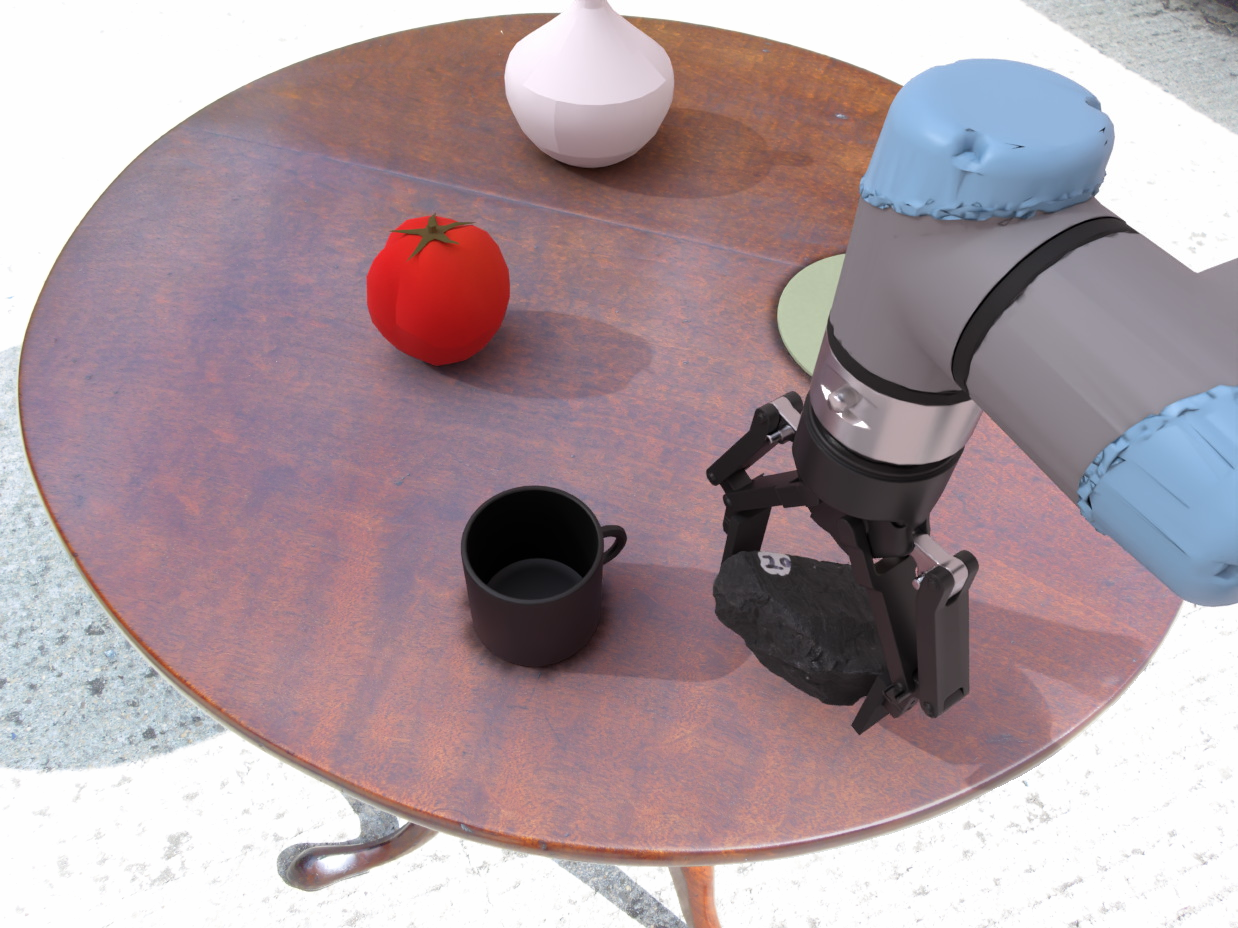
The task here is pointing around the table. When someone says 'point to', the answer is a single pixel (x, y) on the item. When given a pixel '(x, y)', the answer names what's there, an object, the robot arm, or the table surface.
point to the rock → (803, 622)
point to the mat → (808, 309)
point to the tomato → (438, 289)
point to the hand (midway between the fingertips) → (800, 639)
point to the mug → (536, 573)
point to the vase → (589, 86)
